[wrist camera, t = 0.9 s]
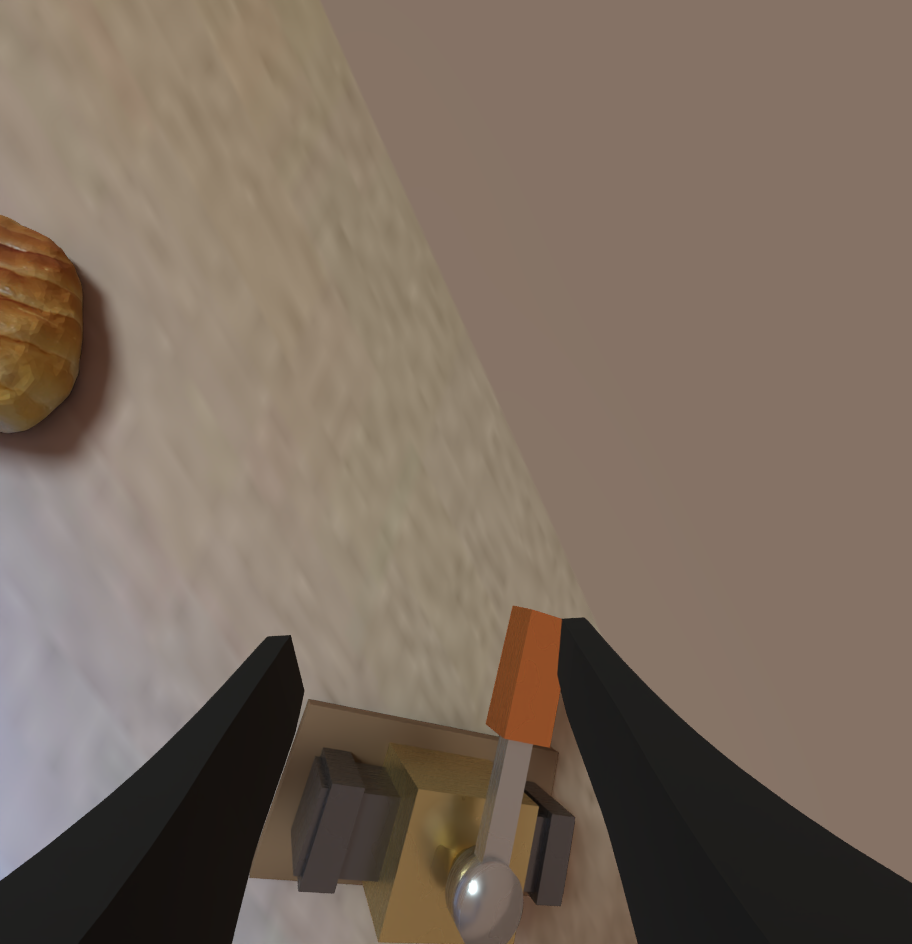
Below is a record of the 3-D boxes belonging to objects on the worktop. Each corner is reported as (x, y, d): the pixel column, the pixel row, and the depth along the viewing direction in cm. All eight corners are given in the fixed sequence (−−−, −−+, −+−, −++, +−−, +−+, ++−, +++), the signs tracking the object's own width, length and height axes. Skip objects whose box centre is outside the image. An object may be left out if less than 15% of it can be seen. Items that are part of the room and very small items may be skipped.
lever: (494, 923, 17) (515, 957, 15) (435, 920, 16) (452, 957, 14) (554, 618, 20) (576, 623, 19) (509, 604, 19) (528, 608, 18)
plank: (525, 885, 24) (533, 895, 23) (250, 865, 19) (249, 877, 18) (550, 747, 26) (558, 752, 25) (308, 699, 21) (309, 704, 20)
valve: (522, 872, 23) (588, 958, 18) (281, 852, 19) (284, 955, 14) (541, 769, 24) (608, 822, 20) (322, 730, 20) (337, 784, 16)
